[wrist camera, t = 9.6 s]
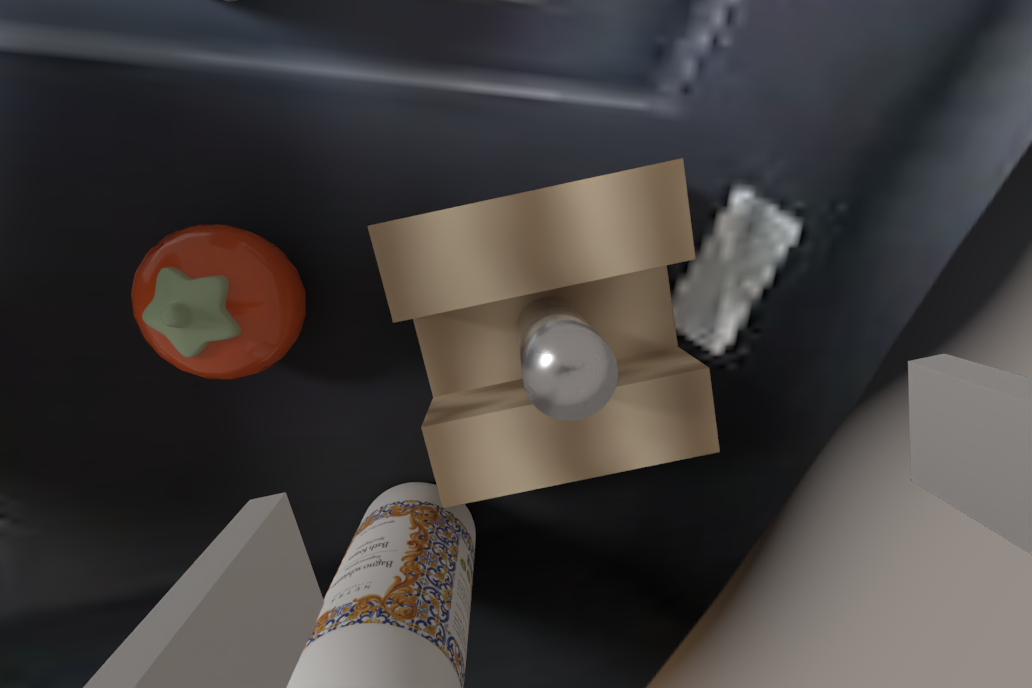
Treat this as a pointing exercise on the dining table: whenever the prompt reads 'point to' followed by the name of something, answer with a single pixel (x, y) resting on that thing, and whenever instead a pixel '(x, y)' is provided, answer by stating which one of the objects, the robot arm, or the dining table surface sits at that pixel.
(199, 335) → the tomato
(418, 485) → the bath foam
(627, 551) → the dining table surface
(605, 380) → the pin
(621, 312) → the slot block
